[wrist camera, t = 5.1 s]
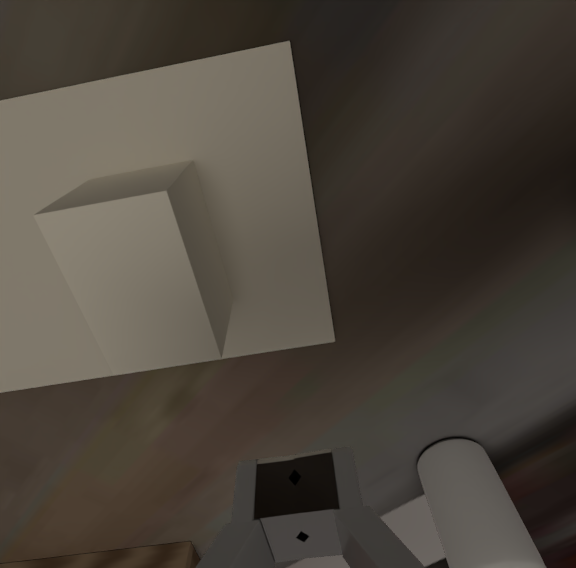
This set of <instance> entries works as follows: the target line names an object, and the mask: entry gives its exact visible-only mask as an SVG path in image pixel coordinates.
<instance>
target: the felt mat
mask: <svg viewBox="0 0 576 568" xmlns="http://www.w3.org/2000/svg"><path fill="white" fill-rule="evenodd" d="M189 160H193V161H194V165H195V168H196V172H197V175H198V179H199V182H200V186H201V189H202V193H203V196H204V200H205V203H206V207H207V210H208V214H209V217H210V221H211V224H212V228H213V231H214V235H215V238H216V242H217V245H218V249H219V252H220V256H221V259H222V263H223V266H224V270H225V273H226V277H227V280H228V284H229V288H230V291H231V295H232V298H233V304H232V309H231V314H230V319H229V324H228V329H227V335H226V340H225V345H224V350H223V355H222V359H225V358H231V357H238V356H244V355H251V354H258V353H264V352H271V351H277V350H284V349H290V348H297V347H304V346H310V345H317V344H323V343H330V342H335V336H334V329H333V323H332V316H331V310H330V303H329V296H328V290H327V283H326V277H325V270H324V263H323V257H322V250H321V244H320V237H319V230H318V224H317V217H316V211H315V204H314V197H313V191H312V184H311V178H310V171H309V164H308V158H307V151H306V145H305V138H304V131H303V125H302V118H301V112H300V105H299V98H298V92H297V85H296V79H295V72H294V65H293V59H292V52H291V46H290V41H286V42H282V43H277V44H272V45H267V46H262V47H257V48H253V49H248V50H243V51H238V52H233V53H228V54H224V55H219V56H214V57H209V58H204V59H199V60H195V61H190V62H185V63H180V64H175V65H170V66H166V67H161V68H156V69H151V70H146V71H141V72H137V73H132V74H127V75H122V76H117V77H112V78H108V79H103V80H98V81H93V82H88V83H83V84H79V85H74V86H69V87H64V88H59V89H55V90H50V91H45V92H40V93H35V94H30V95H26V96H21V97H16V98H11V99H6V100H1V101H0V393H1V392H8V391H14V390H21V389H27V388H34V387H41V386H47V385H54V384H60V383H67V382H73V381H80V380H87V379H93V378H100V377H106V376H113V373H112V371H111V369H110V367H109V365H108V363H107V361H106V359H105V357H104V355H103V353H102V351H101V349H100V347H99V345H98V343H97V341H96V339H95V337H94V335H93V333H92V331H91V329H90V327H89V325H88V323H87V321H86V319H85V317H84V315H83V313H82V311H81V309H80V307H79V305H78V303H77V301H76V299H75V297H74V295H73V293H72V291H71V289H70V287H69V285H68V283H67V282H66V280H65V278H64V276H63V274H62V272H61V270H60V268H59V266H58V264H57V262H56V260H55V258H54V256H53V254H52V252H51V250H50V248H49V246H48V244H47V242H46V240H45V238H44V236H43V234H42V232H41V230H40V228H39V226H38V224H37V222H36V220H35V218H34V216H33V215H34V214H36V213H37V212H39V211H40V210H42V209H44V208H45V207H47V206H48V205H50V204H51V203H53V202H55V201H56V200H58V199H59V198H61V197H62V196H64V195H66V194H67V193H69V192H70V191H72V190H74V189H75V188H77V187H78V186H80V185H81V184H83V183H85V182H86V181H88V180H89V179H94V178H99V177H104V176H109V175H115V174H120V173H125V172H131V171H136V170H141V169H146V168H152V167H157V166H162V165H168V164H173V163H178V162H184V161H189Z"/></svg>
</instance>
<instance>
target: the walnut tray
mask: <svg viewBox="0 0 576 568" xmlns="http://www.w3.org/2000/svg"><path fill="white" fill-rule="evenodd" d="M199 562H200V559H199V557H198V555H197V553H196V551H195V549H194V547H193V545H192V543H191V541H188V542H179V543H171V544H162V545H154V546H146V547H137V548H129V549H121V550H112V551H104V552H96V553H87V554H79V555H71V556H62V557H54V558H46V559H37V560H29V561H21V562H12V563H4V564H0V568H196V566H197V565H198V563H199Z"/></svg>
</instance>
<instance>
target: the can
mask: <svg viewBox="0 0 576 568" xmlns="http://www.w3.org/2000/svg"><path fill="white" fill-rule="evenodd" d="M417 470H418V473H419V477H420V480H421V483H422V486H423V489H424V492H425V495H426V498H427V501H428V504H429V507H430V510H431V514H432V517H433V520H434V522H435V525H436V529H437V532H438V534H439V538H440V541H441V544H442V546H443V550H444V553H445V556H446V559H447V562H448V565H449V568H546V567H545V564H544V562H543V560H542V558H541V556H540V555H539V553H538V551H537V549H536V547H535V545H534V543H533V541H532V539H531V537H530V535H529V533H528V531H527V529H526V527H525V526H524V524H523V522H522V520H521V518H520V516H519V514H518V512H517V510H516V508H515V506H514V504H513V503H512V501H511V499H510V497H509V495H508V493H507V491H506V489H505V487H504V485H503V484H502V482H501V480H500V478H499V476H498V474H497V472H496V470H495V468H494V466H493V465H492V463H491V461H490V459H489V457H488V455H487V454H486V452H485V450H484V449H483V448H482V446H480V445H479V444H478V443H476V442H473V441H471V440H468V439H464V438H449V439H445V440H441V441H438V442H436V443H434V444H432V445H431V446H429V447H428V448H427V449H426V450H425V451H424V452H423V453H422V455H421V456H420V459H419V461H418V464H417Z"/></svg>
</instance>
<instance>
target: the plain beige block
mask: <svg viewBox="0 0 576 568" xmlns="http://www.w3.org/2000/svg"><path fill="white" fill-rule="evenodd" d="M33 216H34V218H35V220H36V222H37V224H38V226H39V228H40V230H41V232H42V234H43V236H44V238H45V240H46V242H47V244H48V246H49V248H50V250H51V252H52V254H53V256H54V258H55V260H56V262H57V264H58V266H59V268H60V270H61V272H62V274H63V276H64V278H65V280H66V282H67V283H68V285H69V287H70V289H71V291H72V293H73V295H74V297H75V299H76V301H77V303H78V305H79V307H80V309H81V311H82V313H83V315H84V317H85V319H86V321H87V323H88V325H89V327H90V329H91V331H92V333H93V335H94V337H95V339H96V341H97V343H98V345H99V347H100V349H101V351H102V353H103V355H104V357H105V359H106V361H107V363H108V365H109V367H110V369H111V371H112V373H113V375H121V374H127V373H134V372H140V371H147V370H153V369H160V368H167V367H173V366H180V365H186V364H193V363H200V362H206V361H213V360H219V359H222V355H223V350H224V345H225V340H226V335H227V329H228V324H229V319H230V314H231V309H232V304H233V298H232V295H231V291H230V288H229V284H228V280H227V277H226V273H225V270H224V266H223V263H222V259H221V256H220V252H219V249H218V245H217V242H216V238H215V235H214V231H213V228H212V224H211V221H210V217H209V214H208V210H207V207H206V203H205V200H204V196H203V193H202V189H201V186H200V182H199V179H198V175H197V172H196V168H195V165H194V161H193V160H189V161H184V162H178V163H173V164H168V165H162V166H157V167H152V168H146V169H141V170H136V171H131V172H125V173H120V174H115V175H109V176H104V177H99V178H94V179H89V180H88V181H86V182H85V183H83V184H81V185H80V186H78V187H77V188H75V189H74V190H72V191H70V192H69V193H67V194H66V195H64V196H62V197H61V198H59V199H58V200H56V201H55V202H53V203H51V204H50V205H48V206H47V207H45V208H44V209H42V210H40V211H39V212H37V213H36V214H34V215H33Z"/></svg>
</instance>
